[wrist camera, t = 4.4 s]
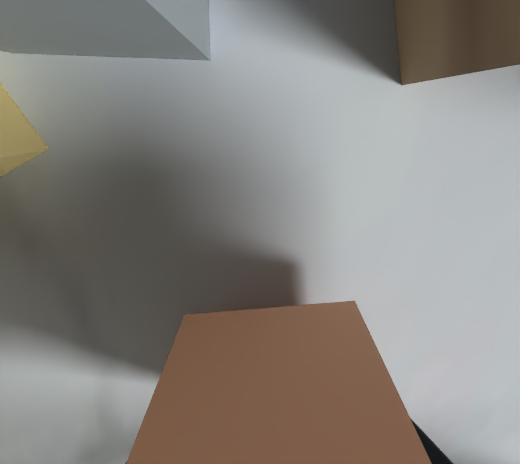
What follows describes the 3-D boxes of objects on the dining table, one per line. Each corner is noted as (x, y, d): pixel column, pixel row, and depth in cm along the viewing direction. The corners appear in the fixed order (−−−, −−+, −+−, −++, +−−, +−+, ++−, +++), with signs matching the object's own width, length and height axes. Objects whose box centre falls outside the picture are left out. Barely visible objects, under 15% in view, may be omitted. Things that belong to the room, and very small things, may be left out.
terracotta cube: (354, 300, 9) (461, 527, 4) (352, 418, 10) (422, 664, 6) (184, 314, 9) (96, 540, 4) (212, 427, 11) (172, 668, 6)
